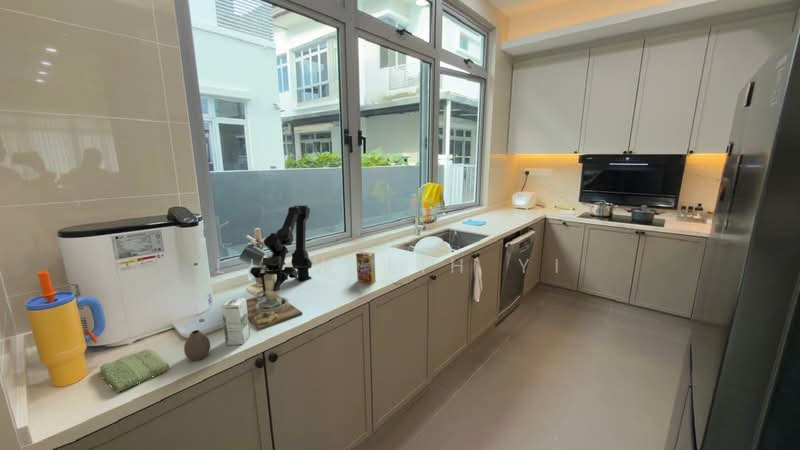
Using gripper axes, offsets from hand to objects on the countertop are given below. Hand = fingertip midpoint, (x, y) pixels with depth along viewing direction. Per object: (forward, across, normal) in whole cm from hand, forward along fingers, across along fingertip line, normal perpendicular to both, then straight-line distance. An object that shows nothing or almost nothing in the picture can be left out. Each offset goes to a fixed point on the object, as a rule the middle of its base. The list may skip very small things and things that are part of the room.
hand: (269, 291), depth 127 cm
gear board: (+6, -2, +6) cm, 9 cm away
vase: (+29, -8, -17) cm, 34 cm away
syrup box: (+22, -1, -10) cm, 24 cm away
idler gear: (+4, 0, +6) cm, 7 cm away
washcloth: (+34, -23, -22) cm, 47 cm away
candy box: (-17, +35, +30) cm, 49 cm away
